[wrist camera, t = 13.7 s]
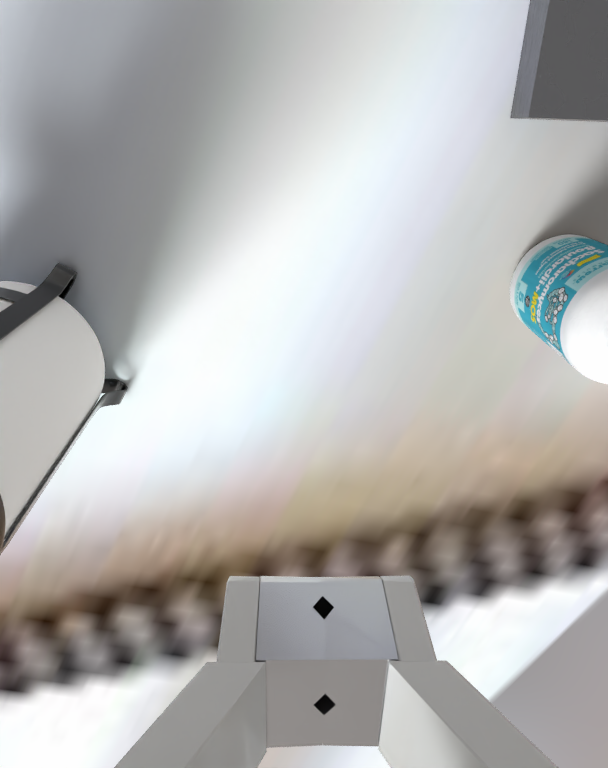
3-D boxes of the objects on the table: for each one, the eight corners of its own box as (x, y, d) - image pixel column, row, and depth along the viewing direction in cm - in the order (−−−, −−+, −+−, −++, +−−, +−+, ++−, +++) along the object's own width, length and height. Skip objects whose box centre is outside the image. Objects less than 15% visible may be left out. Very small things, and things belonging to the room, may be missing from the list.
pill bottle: (548, 213, 40) (665, 252, 28) (625, 263, 41) (768, 320, 29) (485, 302, 42) (566, 374, 30) (560, 345, 44) (665, 430, 32)
